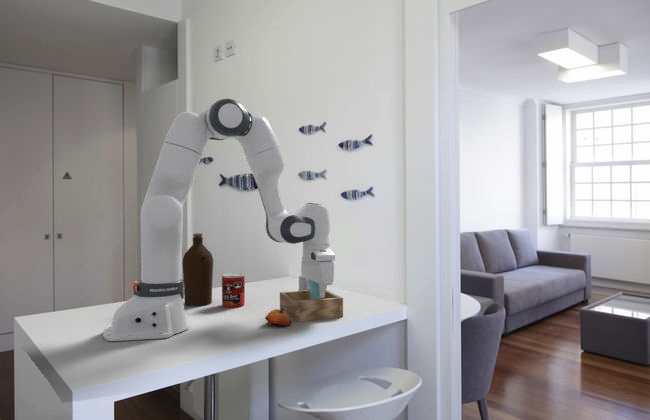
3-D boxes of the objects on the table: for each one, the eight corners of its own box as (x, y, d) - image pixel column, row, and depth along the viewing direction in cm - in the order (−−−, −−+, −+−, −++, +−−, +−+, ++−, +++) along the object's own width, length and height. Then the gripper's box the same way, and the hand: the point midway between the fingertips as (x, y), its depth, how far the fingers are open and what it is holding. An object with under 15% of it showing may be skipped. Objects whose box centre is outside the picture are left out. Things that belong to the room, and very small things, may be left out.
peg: (313, 314, 151) (313, 277, 151) (309, 312, 155) (309, 276, 154) (323, 313, 153) (323, 277, 152) (319, 311, 156) (319, 275, 156)
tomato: (283, 325, 134) (271, 304, 137) (267, 338, 136) (256, 317, 139) (298, 322, 141) (287, 302, 144) (283, 336, 143) (272, 316, 146)
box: (295, 321, 143) (295, 302, 142) (279, 310, 157) (279, 292, 157) (343, 316, 149) (343, 297, 149) (323, 305, 163) (323, 288, 163)
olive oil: (219, 301, 170) (219, 233, 169) (200, 308, 160) (200, 235, 160) (196, 299, 174) (195, 232, 174) (176, 305, 165) (175, 234, 164)
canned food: (218, 307, 161) (218, 275, 161) (228, 302, 169) (228, 272, 169) (238, 308, 159) (238, 276, 159) (248, 303, 167) (247, 272, 167)
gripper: (296, 249, 162) (296, 289, 162) (318, 256, 143) (318, 301, 143) (313, 248, 164) (313, 287, 164) (337, 255, 145) (337, 299, 146)
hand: (316, 294), depth 154 cm, fingers open, 8 cm apart
